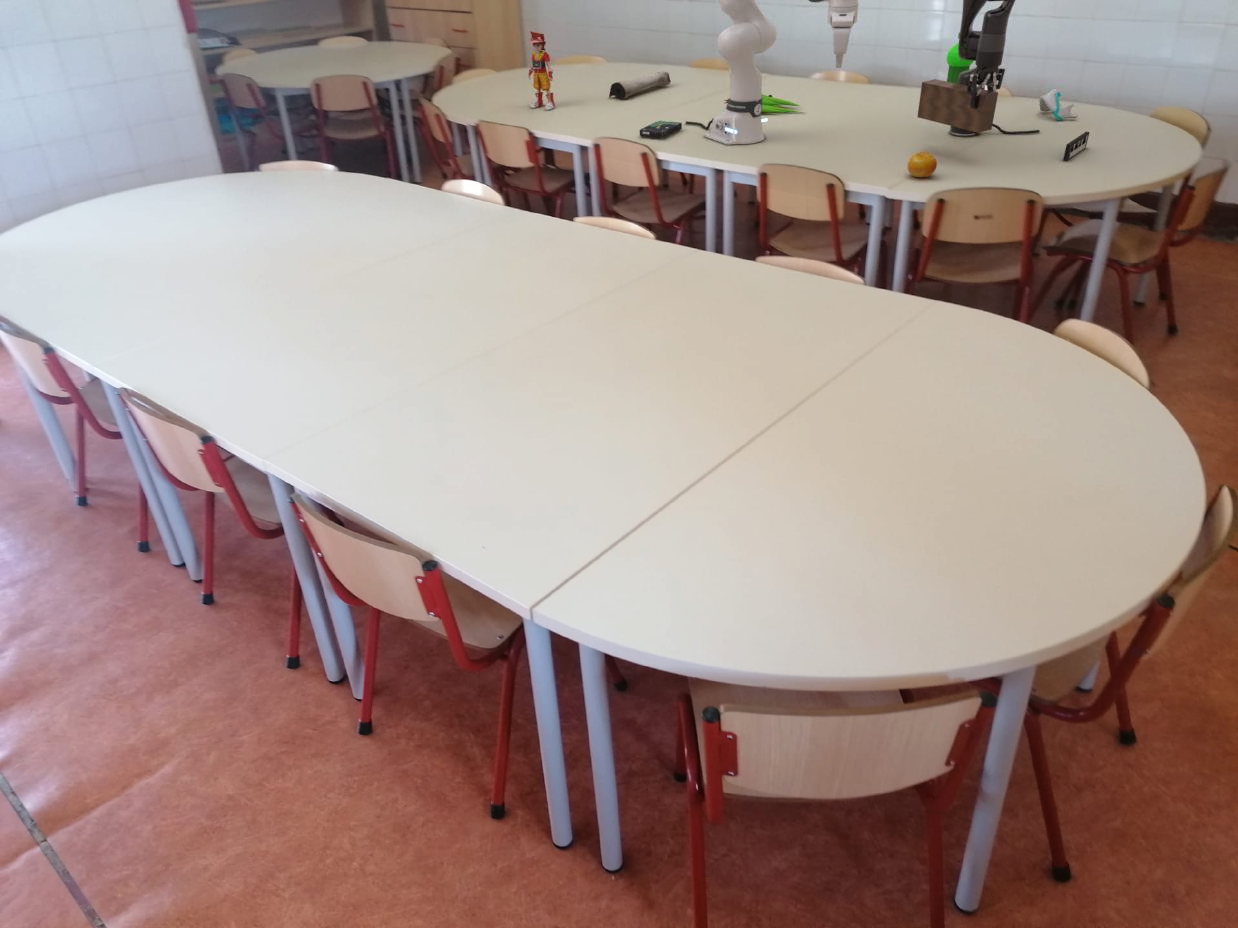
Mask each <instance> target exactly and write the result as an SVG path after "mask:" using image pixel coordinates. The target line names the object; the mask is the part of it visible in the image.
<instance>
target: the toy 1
mask: <svg viewBox="0 0 1238 928" xmlns="http://www.w3.org/2000/svg"><path fill="white" fill-rule="evenodd" d="M529 33H530V35H531V36H528V37H527V38H528V39H529V40H528V41H527V43H529V44H530V43H531V44H532V48H533V50H534V51H533V52H532V55H531V58H530V59H531V63H530V66H528V74H527V75H528V76H527V77H528V79H529V80H531V75H532V74H533V84H532V85H533V86H532V87H533V88H534V89H535V90H536V92H534V95H535V97H536V100H535V101H533V102H531V105H530V108H531V109H535V108H538V107H542V106H544V101H543V100H544V99H543V95H544V92H546V94H545V97H546V99H547V103H546V104H545V106H544V110H546V111H549V110H553V109H554V107H555V106H556V105H555V99H554V92H551V91H550V90H551V86H552V84H551V82H552V81H553V80H554V77H553V73H554V71H555V70H554V69H552V68H551V63H550V61H551V59H550V58H551V57H550V54H549V53H548V52H547V50H546V48H545V46H546V44H547V41H545V35H544V33H543V32H542V33H539V32H535V31H529Z"/></svg>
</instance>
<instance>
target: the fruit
mask: <svg viewBox="0 0 1238 928" xmlns="http://www.w3.org/2000/svg"><path fill="white" fill-rule="evenodd" d="M937 166H938V162H937V159H936V157H935V156H934V155H933V154H931V153H929V152H926V151H925V152H924V151H923V152H916V153H915V154H913V155H912V156H911V157H910V158H909V160H908V162H907V171H908V172H909V174H910V175H911V176H912V177H914V178H922V179H923V178H927V177H930V176H931V175H933V173H934V172H935V171H936V169H937Z"/></svg>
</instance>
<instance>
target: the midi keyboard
mask: <svg viewBox="0 0 1238 928" xmlns="http://www.w3.org/2000/svg"><path fill="white" fill-rule="evenodd" d="M1090 133H1091V132H1090V131H1085V132H1083V133H1082V134H1080V135H1079V136H1076V138H1074V139H1073V140H1071V141H1069V142H1068V143H1066V145H1065V146H1066V147H1065V150H1064V153H1063V159H1062V160H1063V161H1068V160H1070V158H1072V157H1073V156H1075V155H1077V154H1078V153H1080V152H1081V151H1082V150H1084V149H1086V148H1087V145H1088V140H1089V137H1090Z"/></svg>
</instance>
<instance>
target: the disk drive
mask: <svg viewBox="0 0 1238 928" xmlns="http://www.w3.org/2000/svg"><path fill="white" fill-rule="evenodd" d="M682 129H683V122H680V121H679V122H677V121H666V120H658V121H654V122H653V123H651V124H649V125H647V126H645V127H643V128H640V129H639V137H642V138H649V139H657V140H658V139H659V140H663V139H665V138H668V137H670V136H672V135H673V134H675V133H677V132H679V131H681V130H682Z"/></svg>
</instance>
